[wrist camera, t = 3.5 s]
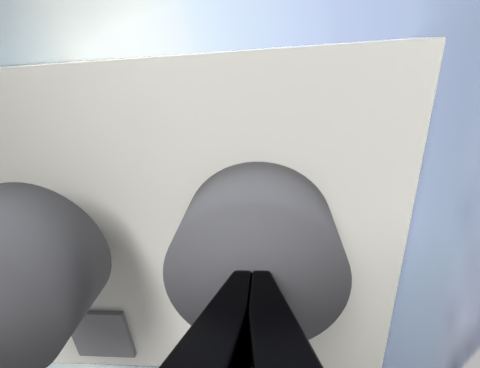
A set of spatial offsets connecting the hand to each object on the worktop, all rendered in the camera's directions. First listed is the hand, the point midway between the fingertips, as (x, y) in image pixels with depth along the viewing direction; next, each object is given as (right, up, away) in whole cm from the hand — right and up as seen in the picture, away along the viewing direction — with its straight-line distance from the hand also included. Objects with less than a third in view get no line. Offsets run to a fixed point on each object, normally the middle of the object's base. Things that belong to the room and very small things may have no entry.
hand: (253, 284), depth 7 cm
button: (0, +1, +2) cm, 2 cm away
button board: (-6, +1, +5) cm, 8 cm away
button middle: (-6, 0, +2) cm, 7 cm away
